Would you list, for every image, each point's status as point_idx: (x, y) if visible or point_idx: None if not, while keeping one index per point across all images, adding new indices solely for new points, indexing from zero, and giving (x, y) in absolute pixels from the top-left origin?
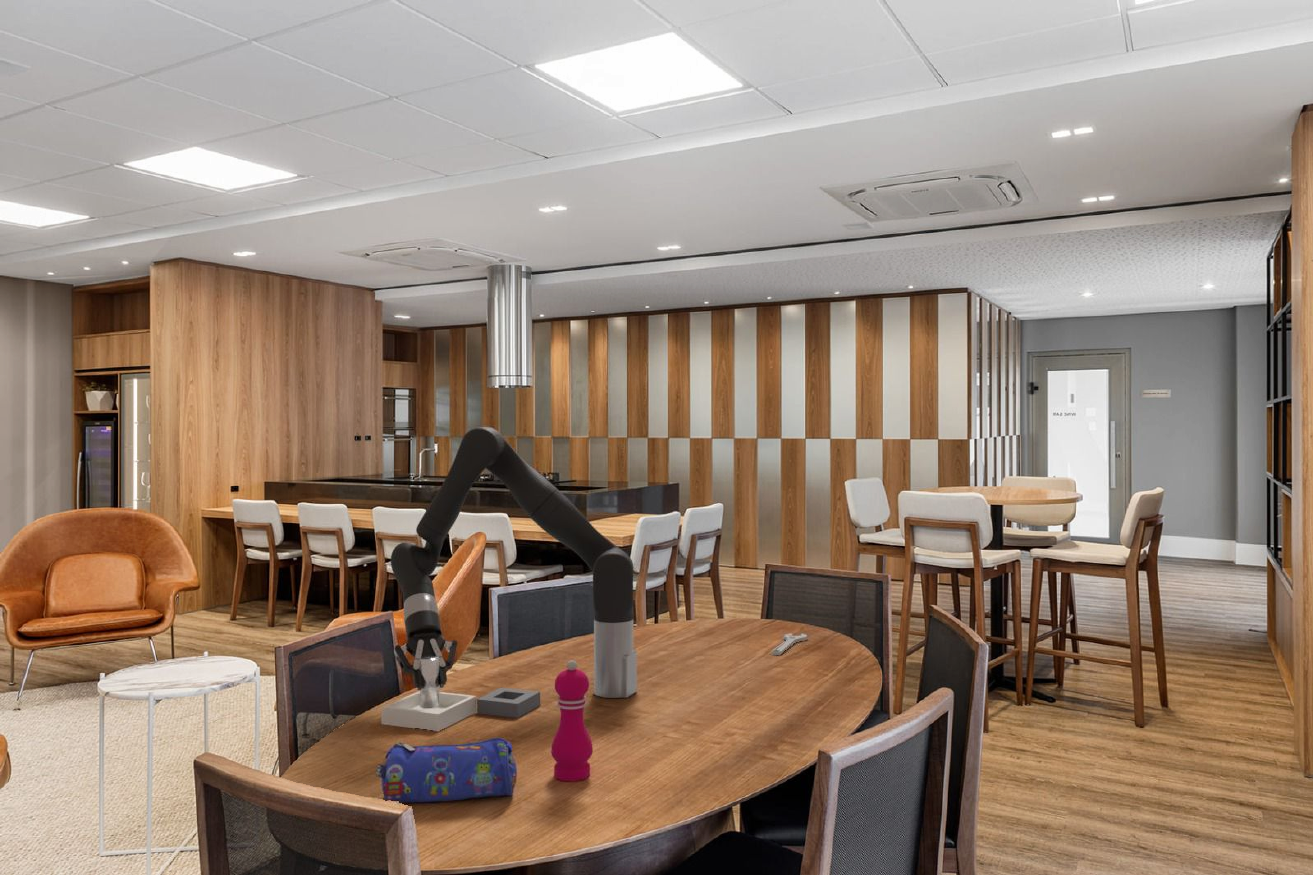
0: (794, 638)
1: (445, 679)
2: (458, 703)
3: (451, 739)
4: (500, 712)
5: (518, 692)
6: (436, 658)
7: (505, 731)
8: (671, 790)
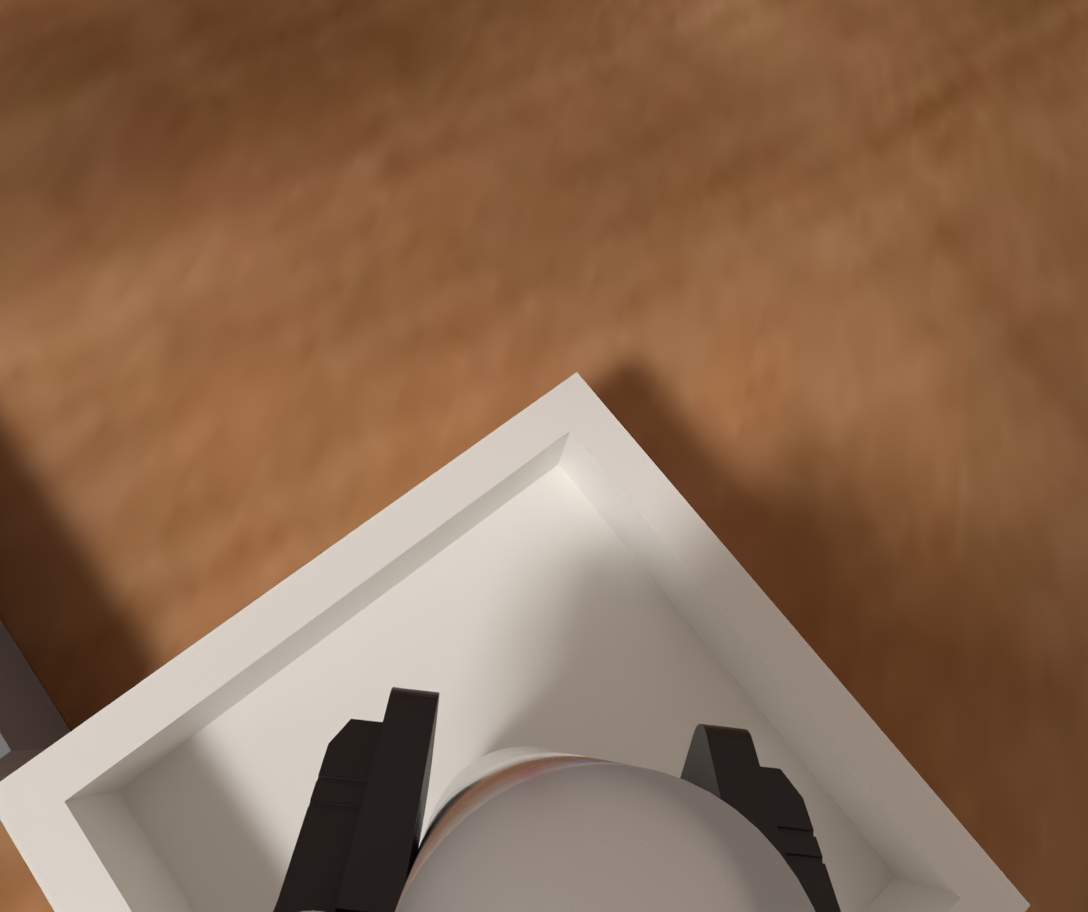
0: None
1: (353, 741)
2: (289, 604)
3: (529, 232)
4: None
5: None
6: None
7: (140, 187)
8: None
